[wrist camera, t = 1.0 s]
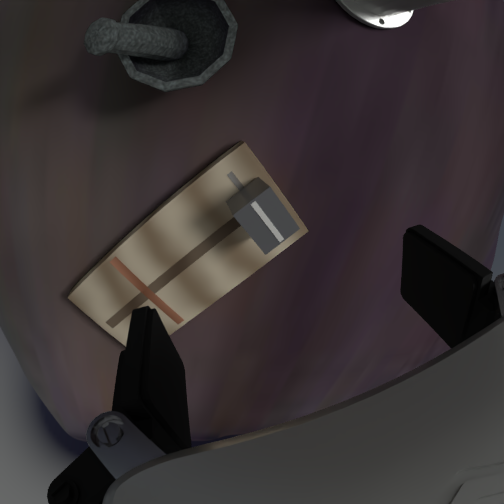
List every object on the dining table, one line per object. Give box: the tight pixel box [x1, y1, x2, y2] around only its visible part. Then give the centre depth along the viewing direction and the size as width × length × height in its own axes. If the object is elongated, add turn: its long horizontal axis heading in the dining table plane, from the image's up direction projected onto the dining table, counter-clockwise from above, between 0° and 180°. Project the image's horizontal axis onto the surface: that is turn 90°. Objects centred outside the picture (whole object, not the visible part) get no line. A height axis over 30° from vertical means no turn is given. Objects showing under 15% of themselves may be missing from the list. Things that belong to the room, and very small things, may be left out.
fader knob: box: [226, 177, 300, 255], centre depth 29 cm, size 4×5×4 cm
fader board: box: [68, 141, 308, 346], centre depth 33 cm, size 26×12×2 cm, turn 126°
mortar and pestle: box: [84, 0, 238, 92], centre depth 20 cm, size 11×9×12 cm
